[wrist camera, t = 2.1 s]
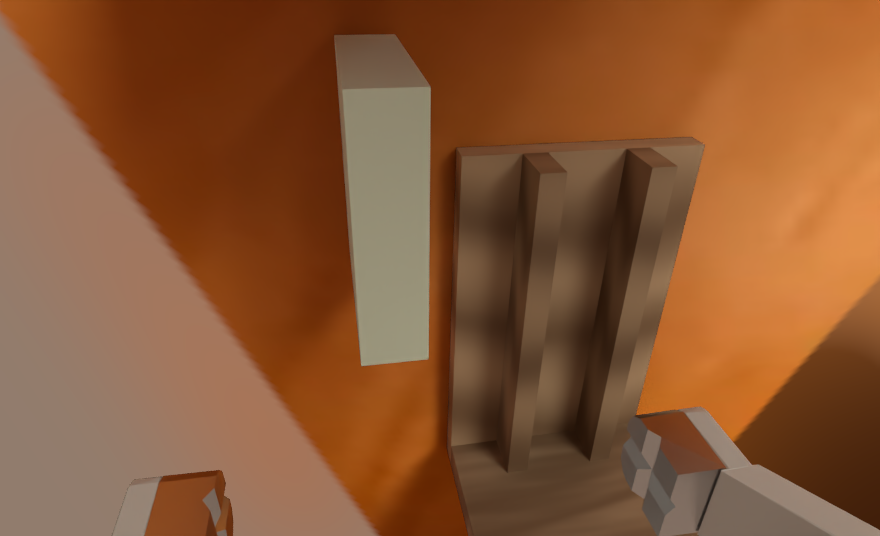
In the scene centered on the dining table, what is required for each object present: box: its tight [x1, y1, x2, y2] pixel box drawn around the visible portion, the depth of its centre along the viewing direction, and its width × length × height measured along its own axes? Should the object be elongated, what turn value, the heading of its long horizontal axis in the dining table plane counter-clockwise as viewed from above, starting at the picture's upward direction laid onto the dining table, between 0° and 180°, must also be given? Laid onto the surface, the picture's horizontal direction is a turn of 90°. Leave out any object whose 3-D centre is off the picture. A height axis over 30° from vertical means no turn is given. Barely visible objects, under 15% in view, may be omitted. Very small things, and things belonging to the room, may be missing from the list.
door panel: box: [334, 34, 431, 366], centre depth 23 cm, size 10×2×9 cm, turn 179°
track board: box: [447, 137, 705, 536], centre depth 27 cm, size 20×12×14 cm, turn 179°
